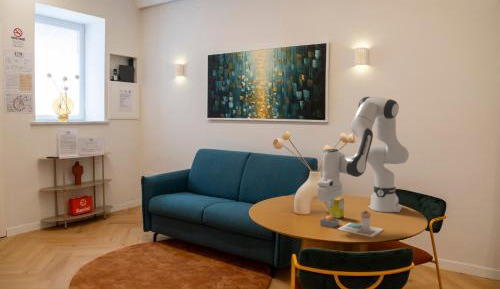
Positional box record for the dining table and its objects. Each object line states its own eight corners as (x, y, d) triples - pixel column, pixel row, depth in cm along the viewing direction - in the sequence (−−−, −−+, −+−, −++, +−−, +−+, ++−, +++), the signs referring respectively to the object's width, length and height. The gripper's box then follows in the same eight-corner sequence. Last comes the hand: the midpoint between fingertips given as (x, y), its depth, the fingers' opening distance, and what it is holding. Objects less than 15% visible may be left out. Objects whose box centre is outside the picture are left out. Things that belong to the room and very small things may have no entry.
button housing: (326, 222, 212) (326, 216, 212) (338, 224, 208) (338, 219, 207) (320, 225, 207) (320, 219, 206) (332, 227, 202) (332, 222, 202)
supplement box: (334, 215, 226) (334, 196, 225) (343, 217, 222) (344, 198, 222) (329, 217, 222) (329, 198, 221) (338, 219, 218) (339, 199, 217)
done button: (327, 220, 210) (328, 215, 210) (334, 222, 207) (335, 216, 207) (324, 222, 207) (324, 216, 206) (331, 223, 204) (331, 218, 204)
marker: (363, 229, 197) (363, 209, 196) (371, 230, 194) (371, 210, 193) (359, 231, 194) (359, 211, 193) (368, 232, 191) (368, 212, 190)
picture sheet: (349, 223, 210) (349, 222, 210) (383, 230, 199) (383, 228, 199) (337, 229, 199) (337, 228, 199) (372, 237, 188) (372, 235, 188)
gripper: (334, 177, 215) (333, 202, 216) (315, 182, 199) (315, 209, 200) (345, 178, 211) (344, 204, 212) (326, 184, 195) (326, 211, 196)
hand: (330, 207), depth 206 cm, fingers closed
